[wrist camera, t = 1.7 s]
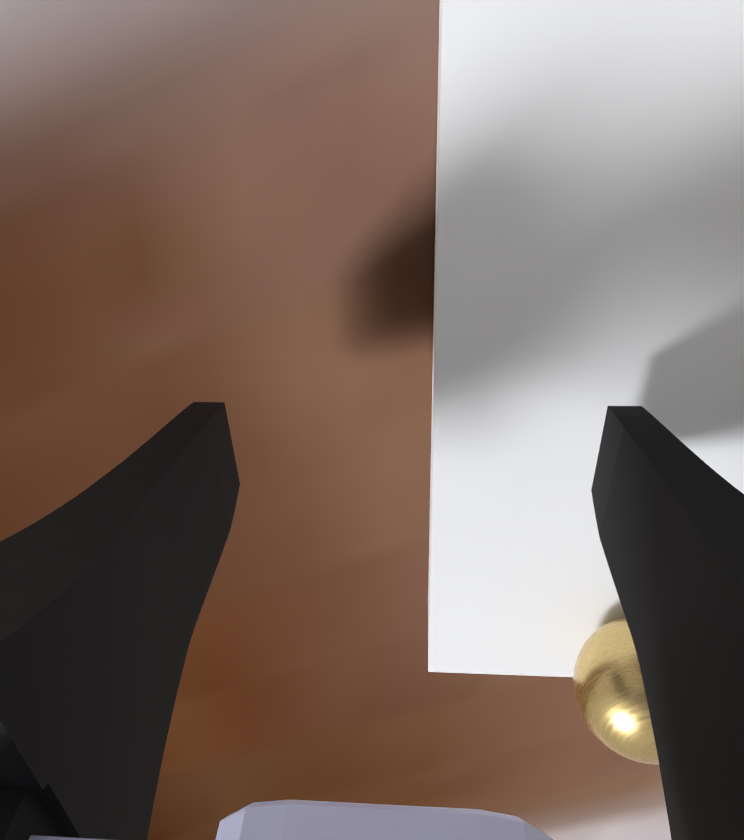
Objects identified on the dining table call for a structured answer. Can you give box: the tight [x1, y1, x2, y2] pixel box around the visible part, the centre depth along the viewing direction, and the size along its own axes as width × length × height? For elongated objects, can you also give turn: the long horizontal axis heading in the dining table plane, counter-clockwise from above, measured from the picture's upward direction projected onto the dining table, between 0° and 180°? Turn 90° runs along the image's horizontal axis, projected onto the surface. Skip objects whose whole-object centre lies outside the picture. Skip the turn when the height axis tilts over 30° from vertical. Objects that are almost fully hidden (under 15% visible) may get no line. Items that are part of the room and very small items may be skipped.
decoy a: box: [573, 617, 659, 764], centre depth 16 cm, size 3×3×3 cm
